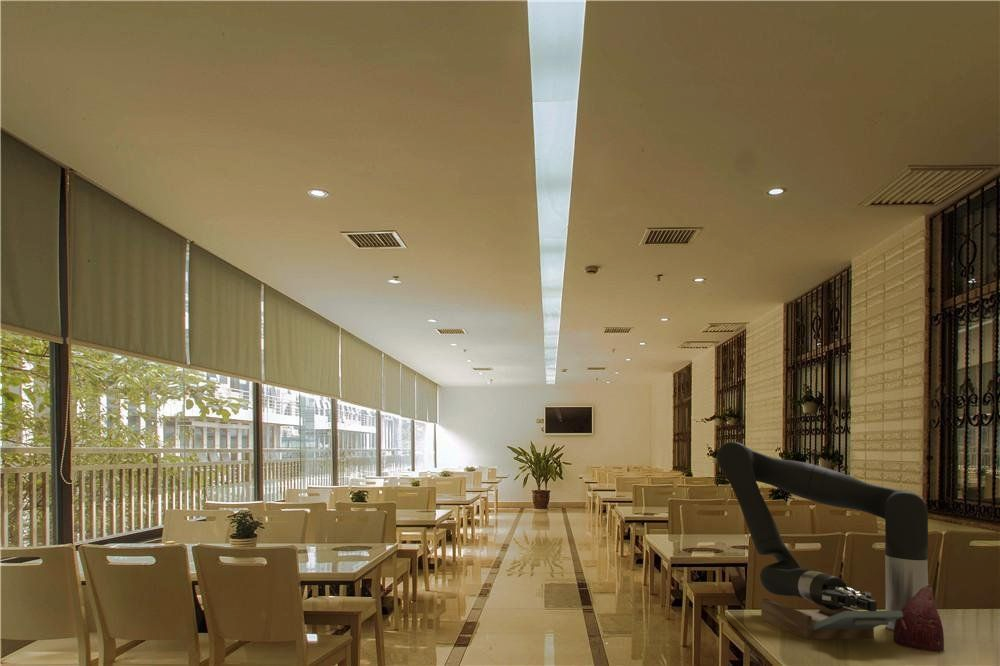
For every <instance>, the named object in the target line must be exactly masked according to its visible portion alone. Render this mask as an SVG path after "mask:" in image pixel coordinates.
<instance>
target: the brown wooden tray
mask: <svg viewBox="0 0 1000 666" xmlns="http://www.w3.org/2000/svg"><path fill="white" fill-rule="evenodd" d="M843 611H859V610H858V609H856V608H855V609H854V608H853V607H849V608H847V607H844V606H843V607H842V608H840V609H838V610H830V609H828V608H825V607H822V606H819V605H818V610H796V609H794V608H791V607H789V606H786V605H783V604H780V603H778V602H776V601H772V600H770V599H768V598H761V611H760V613H761V615H760V617H761V621H764V622H766V623H768V624H771V625H773V626H776V627H778V628H780V629H783V630H784V629H785V630H784V631H786V630H787V632H789V631H790V632H789V633H791V632H792V633H791V634H793V633H794V634H793V635H796V634H797V635H796V636H798V635H799V636H798V637H800V636H801V638H802V639H805V640H850V639H851V640H855V639H856V640H857V639H859V640H860V639H865V640H866V639H867V640H868V639H870V640H871V639H875V632H874V631H875V627H873V628H871V629H850V630H814V629H813V626H812V624H814V623H817V622H819V621H821V620H824V619H826V618H829V617H831V616H833V615H836V614H838V613H841V612H843Z"/></svg>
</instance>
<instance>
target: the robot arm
mask: <svg viewBox="0 0 1000 666" xmlns="http://www.w3.org/2000/svg"><path fill="white" fill-rule="evenodd" d="M716 462H717V465H718V467H719V469H720V470H721V471H722V473H723V475H724V476H725V478H726V480H727V481H728V482H729V484H730V486H731V488H732V491H733V492H734V495H735V497H736V499H737V501H738V505H739V507H740V509H741V512H742V515H743V518H744V521H745V524H746V526H747V529H748V531H749V535H750V537H751V539H752V542H753V545H754V547H755V549H756V552H757V553H758V554H759V555H761V556H772V557H774V559H776V560H777V562H773V563H770V564H767V565H765V566H764V567H763V568H762V569H761V570H760V573H759V580H760V583H761V585H762V586H763V588H764V589H765V590H766V591H768V592H769V593H771V594H774V595H777V596H783V597H784V596H785V597H786V596H788V597H798V598H801V599H802V600H806V601H808V602H809V603H811V604H814V605H817V606H818V607H819V606H822V607H825V608H828V609H830V610H838V609H840V608H842V607H843V606H844V607H847V608H855V609H863V610H864V611H878V610H877V609H878V607H877V604H878V603H877V601H876V600H875V599H872V593H871V591H869V590H868V591H862V594H861V592H860V591H858V590H856V589H853V588H852V587H850V586H847V583H846V582H845V581H844V580H843V579H842V578H840V577H839V576H835V575H831V574H828V573H824V572H821V571H818V570H817V571H816V570H815V571H813V570H811V569H807V568H802V567H801V565H800V563H799V562H798V561H797V559H796V558H795V557H794V555H793V554H792V553H791V551H790V550H789V548H788V547H787V546H786V545H785V543H784V541H783V538H782V537H781V533H780V531H779V529H778V527H777V525H776V524H777V523H776V522H775V519H774V517H773V515H772V513H771V511H770V508H769V507H768V505H767V503H766V501H765V500H764V497H763V495H762V493H761V491H760V488H759V486H758V483H763V484H767V485H769V486H772V487H775V488H777V489H780V490H782V491H784V492H786V493H789V494H791V495H793V496H797V497H799V498H802V499H804V500H808V501H812V502H815V503H818V504H822V505H826V506H832V507H836V508H842V509H849V510H856V511H860V512H865V513H867V514H870V515H872V516H875V517H878V518H881V519H884V521H885V522H884V523H885V524H884V525H885V528H884V531H885V536H884V538H885V540H884V553H885V555H884V556H885V557H884V560H885V562H884V563H885V566H884V567H885V569H884V570H885V571H884V572H885V611H900V610H901V609H902V607H903V606H904V605H905V604H906V603H907V602H908V601H909V600H910V599H911V598H913V597H914V596H915V595H916V594H917V593H918V592H919V590H920V589H921V588H923V587H924V586H927V585H929V575H928V571H929V570H928V550H929V517H928V516H929V515H928V507H927V504H926V502H925V501H924V500H923V498H922V497H920V496H919V495H918V494H916V493H915V492H912V491H911V490H903V489H898V488H897V489H895V488H891V487H886V486H881V485H876V484H872V483H868V482H865V481H863V480H859V479H858V478H855V477H853V476H851V475H848V474H845V473H843V472H839V471H836V470H834V469H831V468H827V467H824V466H820V465H818V464H814V463H809V462H803V461H798V460H797V461H796V460H791V459H790V460H788V459H783V458H782V459H781V458H776V457H772V456H770V455H767V454H763V453H762V452H758V451H755V450H753V449H751V448H749V447H747V446H746V445H745V444H743V443H741V442H738V441H728V442H726V443H724V444H723V445H721V447H720V448H719V449H718V451H717V454H716ZM757 482H758V483H757ZM895 621H896V619H895V620H893V621H890V622H888V625H885V627H886V628H887V629H889V630H892V631H894V626H895Z"/></svg>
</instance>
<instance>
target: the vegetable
mask: <svg viewBox="0 0 1000 666" xmlns="http://www.w3.org/2000/svg"><path fill="white" fill-rule="evenodd" d="M934 596H935V595H934V590H933V589H932V586H931V584H930V583H928V585H927V586H924V587H923V588H921V589H920V590H919V592H918V593H917V594H916V595H915V596H914V597H913V598H911V599H910V600H909V601H908V602H907V603H906V604H905V605H904V606H903V607H902V609H901V610H900V611H902V613H903V617H901V618H898V619H896V621H895V626H894V630H893V634H892V635H893V637H892V638H893V641H892V642H893V643H894V644H896V645H898V646H902V647H905V648H909V649H913V650H919V651H927V652H943V651H944V649H945V648H944V647H945V636H944V627H943V623H942V620H941V616H940V614H939V611H938V608H937V606H936V602H935V597H934Z"/></svg>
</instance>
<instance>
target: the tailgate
mask: <svg viewBox="0 0 1000 666" xmlns="http://www.w3.org/2000/svg"><path fill="white" fill-rule="evenodd" d="M901 617H903V613H902V611H886V610H876V611H868V610H858V611H843V612H841V613H838V614H836V615H833V616H831V617H829V618H826V619H824V620H821V621H819V622H817V623H814V624H812V626H813V629H814V630H850V629H871V628H873V627H874V628H877V627H878V626H886V625H888V622H890V621H893V620H895V619H898V618H901Z"/></svg>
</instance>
